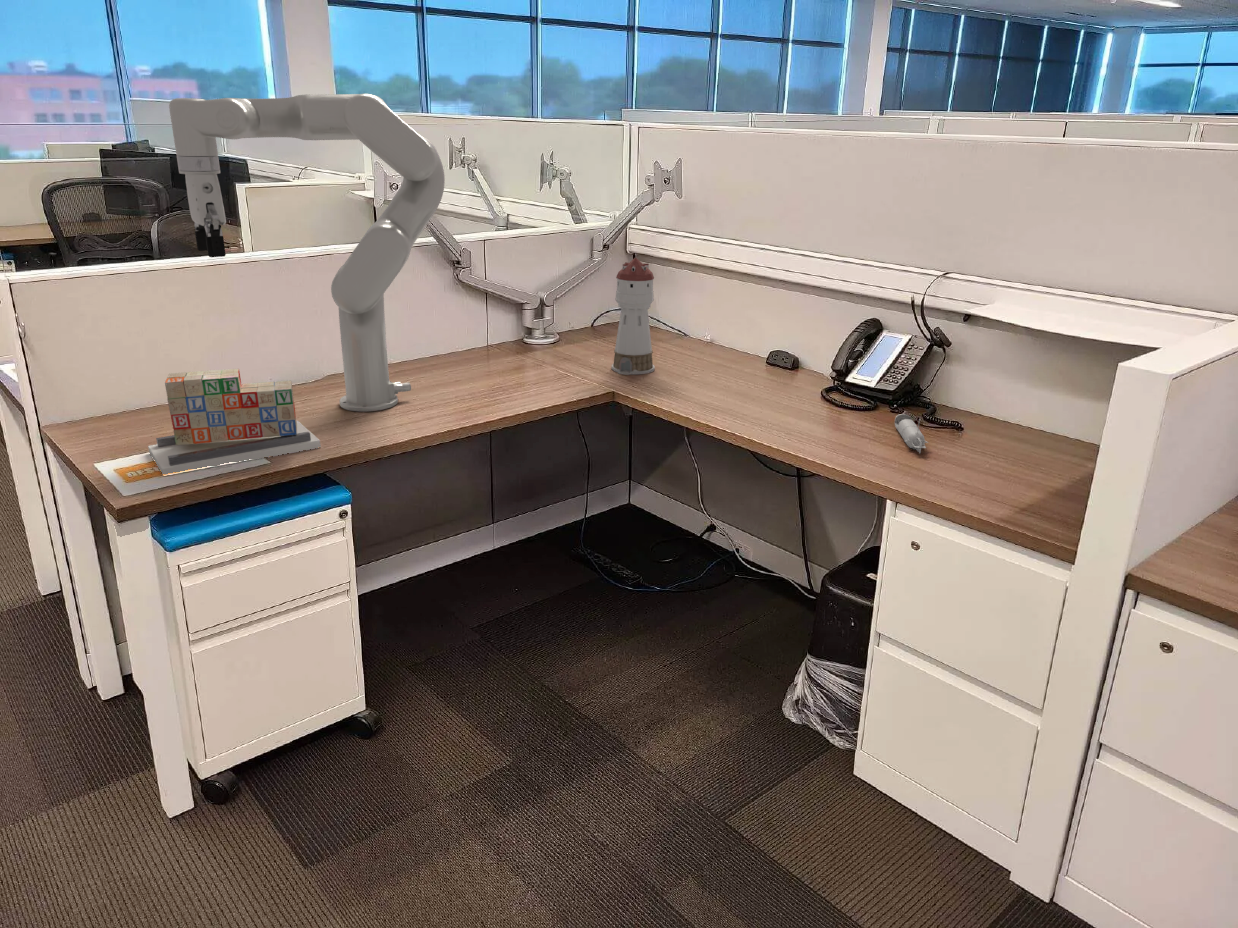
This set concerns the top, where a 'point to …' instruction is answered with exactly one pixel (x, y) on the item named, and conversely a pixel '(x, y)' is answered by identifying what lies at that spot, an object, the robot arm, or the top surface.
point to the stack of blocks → (228, 407)
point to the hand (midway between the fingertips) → (211, 253)
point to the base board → (227, 450)
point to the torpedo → (910, 432)
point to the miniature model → (634, 319)
